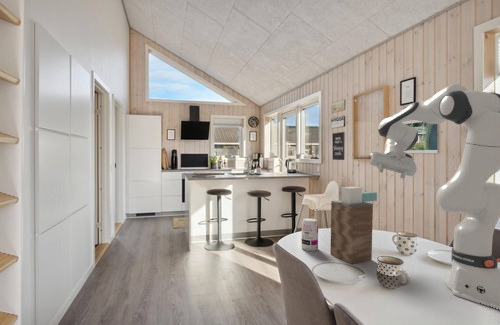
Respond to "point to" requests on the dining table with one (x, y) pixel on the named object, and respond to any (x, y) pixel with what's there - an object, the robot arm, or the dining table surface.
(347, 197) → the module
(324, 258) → the dining table surface
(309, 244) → the supplement can
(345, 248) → the pedestal
